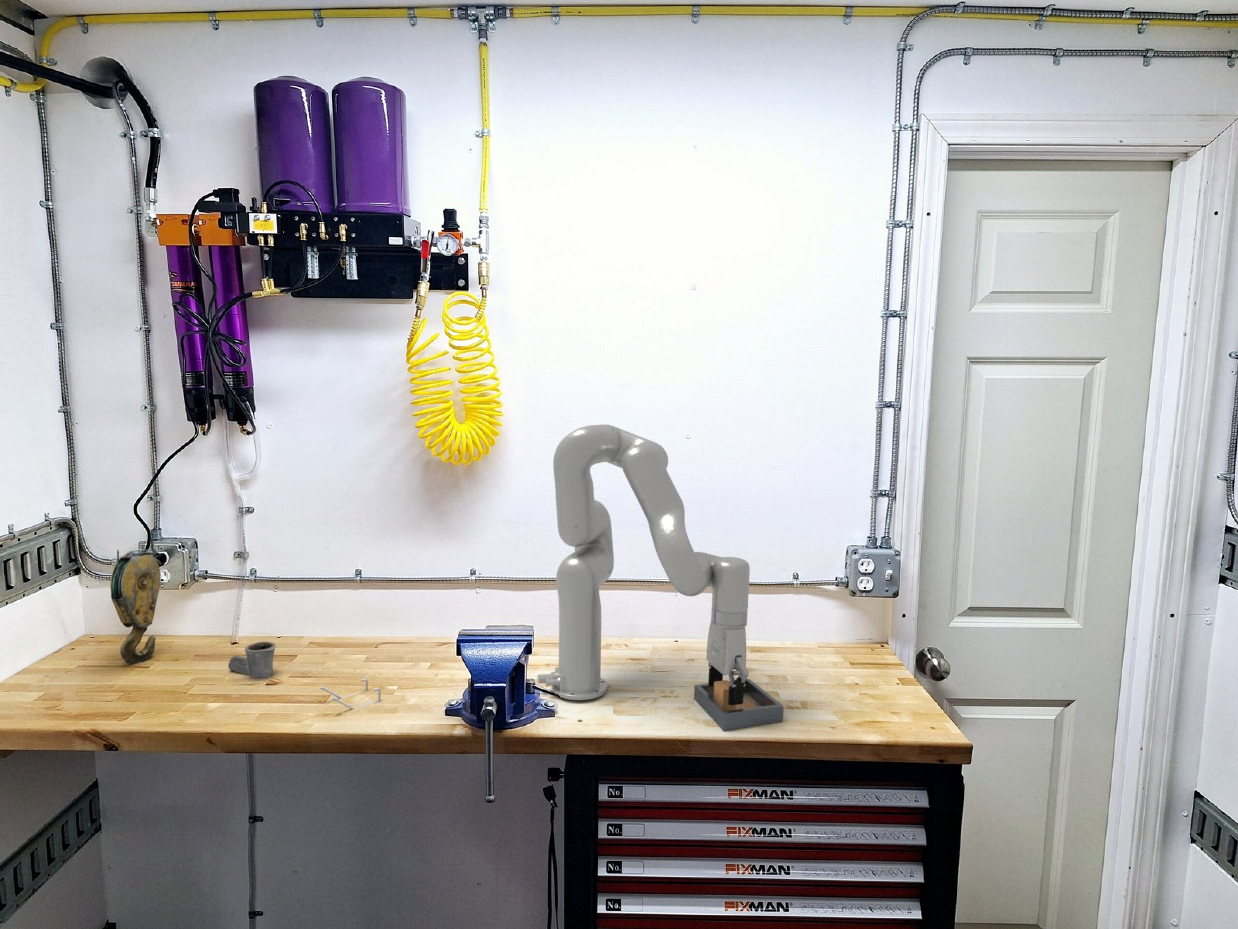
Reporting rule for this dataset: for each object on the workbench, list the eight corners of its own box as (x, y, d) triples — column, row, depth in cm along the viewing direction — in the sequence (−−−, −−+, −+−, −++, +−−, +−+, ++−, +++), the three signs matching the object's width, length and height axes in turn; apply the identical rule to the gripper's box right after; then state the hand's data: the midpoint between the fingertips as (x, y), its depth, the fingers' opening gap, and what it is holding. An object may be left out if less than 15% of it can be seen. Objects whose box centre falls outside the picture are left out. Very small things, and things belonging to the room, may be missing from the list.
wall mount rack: (385, 708, 158) (385, 688, 157) (337, 722, 151) (336, 701, 150) (363, 690, 167) (362, 671, 166) (316, 703, 160) (315, 683, 159)
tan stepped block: (722, 722, 152) (723, 689, 152) (713, 713, 157) (714, 681, 156) (760, 717, 155) (761, 685, 154) (750, 708, 159) (751, 677, 159)
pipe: (242, 668, 178) (241, 637, 177) (284, 676, 174) (283, 643, 173) (221, 677, 172) (220, 644, 171) (263, 685, 168) (262, 652, 167)
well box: (723, 737, 147) (724, 713, 146) (693, 706, 161) (694, 685, 160) (782, 729, 151) (783, 706, 150) (748, 700, 165) (749, 678, 165)
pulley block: (147, 652, 187) (142, 538, 184) (169, 653, 187) (165, 538, 184) (107, 673, 173) (101, 549, 170) (131, 674, 173) (126, 550, 170)
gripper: (696, 605, 160) (692, 680, 162) (731, 631, 144) (727, 714, 145) (727, 603, 162) (723, 677, 164) (765, 628, 146) (760, 710, 148)
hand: (725, 694), depth 155 cm, fingers open, 9 cm apart
